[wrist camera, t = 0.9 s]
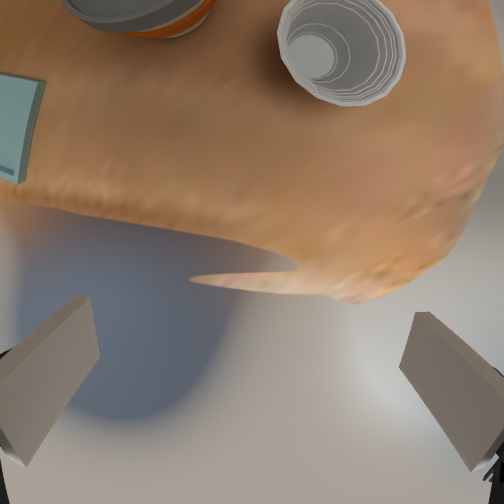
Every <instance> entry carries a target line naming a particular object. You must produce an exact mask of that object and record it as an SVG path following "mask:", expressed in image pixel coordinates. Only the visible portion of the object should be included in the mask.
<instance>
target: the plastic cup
mask: <svg viewBox="0 0 504 504" xmlns="http://www.w3.org/2000/svg"><path fill="white" fill-rule="evenodd" d="M277 36H278V42H279V48H280V54H281V59H282V60H283V62H284V64H285V65H286V67H287V68H288V70H289V72H290V73H291V75H292V76H293V78H294V80H295V81H296V82H297V83H298V84H300V85H301V86H302V87H303V88H305V89H306V90H307V91H309V92H310V93H311V94H312V95H314V96H315V97H316V98H317V99H321V100H324V101H327V102H330V103H333V104H336V105H339V106H342V107H343V106H364V105H368V104H370V103H372V102H374V101H376V100H378V99H380V98H382V97H384V96H386V95H387V94H388V93H389V92H390V90H391V89H392V88H393V87H394V86H395V84H396V83H397V82H398V81H399V80H400V78H401V74H402V71H403V67H404V64H405V60H406V52H405V43H404V36H403V33H402V31H401V29H400V27H399V25H398V23H397V21H396V19H395V17H394V15H393V14H392V12H391V11H390V10H389V9H388V8H387V7H386V6H385V5H383V4H382V3H381V2H380V1H379V0H291V1H290V3H289V4H288V5H287V6H286V7H285V8H284V9H283V13H282V16H281V20H280V23H279V26H278V30H277Z"/></svg>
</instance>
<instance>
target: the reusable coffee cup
mask: <svg viewBox="0 0 504 504" xmlns="http://www.w3.org/2000/svg"><path fill="white" fill-rule="evenodd" d="M215 1H216V0H61V2H62V4H63V6H64V7H65V8H66V9H67V10H68V11H69V12H70V13H71V14H72V15H74V16H75V17H77V18H78V19H80V20H81V21H83V22H85V23H86V24H88V25H89V26H91V27H93V28H95V29H98V30H101V31H104V32H112V33H116V34H119V35H125V36H133V37H139V38H146V39H159V38H173V37H178V36H181V35H184V34H186V33H188V32H190V31H192V30H194V29H195V28H197V27H198V26H199V25H200V24H201V23H202V22H203V21H204V20H205V18H206V17H207V16H208V14H209V12H210V9H211V8H212V6H213V5H214V3H215Z"/></svg>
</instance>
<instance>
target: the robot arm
mask: <svg viewBox="0 0 504 504" xmlns="http://www.w3.org/2000/svg"><path fill="white" fill-rule="evenodd" d="M99 357H100V354H99V349H98V344H97V339H96V334H95V328H94V322H93V316H92V309H91V302H90V298H84V297H76V296H74V297H73V298H72V299H70V300H69V301H68V302H67V303H65V304H64V305H63V306H62V307H61V308H59V309H58V310H57V311H56V312H54V313H53V314H52V315H51V316H50V317H48V318H47V319H46V320H45V321H44V322H42V323H41V324H40V325H39V326H38V327H36V328H35V329H34V330H33V331H32V332H31V333H29V334H28V335H27V336H26V337H25V338H24V339H23V340H21V341H20V342H19V343H18V344H17V345H16V346H15V347H13V348H12V349H9V350H7V351H5V352H3V353H1V354H0V446H1V448H2V449H3V451H4V452H5V454H6V455H7V457H8V458H9V459H10V460H12V461H14V462H16V463H18V464H20V465H22V466H24V467H27V466H28V464H29V463H30V461H31V459H32V458H33V456H34V454H35V453H36V451H37V450H38V448H39V446H40V445H41V443H42V442H43V440H44V438H45V437H46V435H47V434H48V432H49V431H50V429H51V427H52V426H53V424H54V423H55V421H56V420H57V418H58V417H59V415H60V414H61V412H62V411H63V409H64V408H65V406H66V405H67V403H68V402H69V400H70V399H71V397H72V396H73V394H74V393H75V391H76V390H77V389H78V387H79V385H80V384H81V383H82V381H83V380H84V378H85V377H86V376H87V374H88V373H89V371H90V370H91V368H92V367H93V366H94V364H95V363H96V361H97V360H98V358H99ZM399 368H400V369H401V371H402V372H403V373H404V375H405V376H406V378H407V379H408V380H409V382H410V383H411V384H412V386H413V387H414V389H415V390H416V392H417V393H418V394H419V396H420V397H421V398H422V400H423V401H424V403H425V404H426V406H427V407H428V409H429V410H430V412H431V413H432V414H433V416H434V417H435V419H436V420H437V422H438V423H439V425H440V426H441V428H442V429H443V431H444V432H445V434H446V435H447V437H448V438H449V439H450V441H451V443H452V444H453V446H454V447H455V449H456V450H457V452H458V453H459V455H460V456H461V458H462V459H463V461H464V463H465V464H466V466H467V467H468V469H469V470H470V472H474V471H476V470H478V469H480V468H482V467H484V466H486V465H487V464H488V462H489V461H490V460H491V459H492V457H493V456H494V454H495V453H496V454H497V455H498V456H499V459H498V460H497V461H496V462H495V464H494V465H493V466H492V468H491V469H490V470H489V471H488V472H487V474H486V475H485V476H484V478H483V480H484V481H485V480H486V479H487V478H488V477H489V476H490V475H491V474H492V473H493V476H492V477H491V479H490V480H489V482H492V487H491V493H490V498H489V504H504V376H503V375H502V374H501V373H500V372H499V371H498V370H497V369H496V368H494V367H492V366H491V365H490V364H488V362H486V361H485V360H484V359H483V358H482V357H481V356H480V355H479V354H477V352H475V351H474V350H473V349H472V348H471V347H470V346H469V345H468V344H466V343H465V342H464V341H463V340H462V339H461V338H460V337H458V336H457V335H456V334H455V333H454V332H453V331H451V330H450V329H449V328H448V327H447V326H446V325H444V324H443V323H442V322H441V321H440V320H439V319H437V318H436V317H435V316H434V315H433V314H431V313H430V312H416V313H415V315H414V319H413V323H412V327H411V330H410V334H409V337H408V340H407V344H406V347H405V350H404V353H403V356H402V360H401V363H400V366H399ZM0 504H10V503H9V499H8V495H7V491H6V487H5V482H4V477H3V472H2V466H1V461H0Z"/></svg>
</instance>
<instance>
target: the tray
mask: <svg viewBox="0 0 504 504" xmlns="http://www.w3.org/2000/svg"><path fill="white" fill-rule="evenodd" d="M45 85H46V82H45V81H41V80H36V79H32V78H27V77H22V76H17V75H11V74H6V73H0V178H3V179H5V180H7V181H10V182H12V183H14V184H17V185H18V184H19V183H21V182H23V181H25V178H26V171H27V164H28V158H29V152H30V146H31V141H32V136H33V131H34V127H35V122H36V118H37V114H38V110H39V106H40V102H41V99H42V95H43V92H44V88H45Z"/></svg>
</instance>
